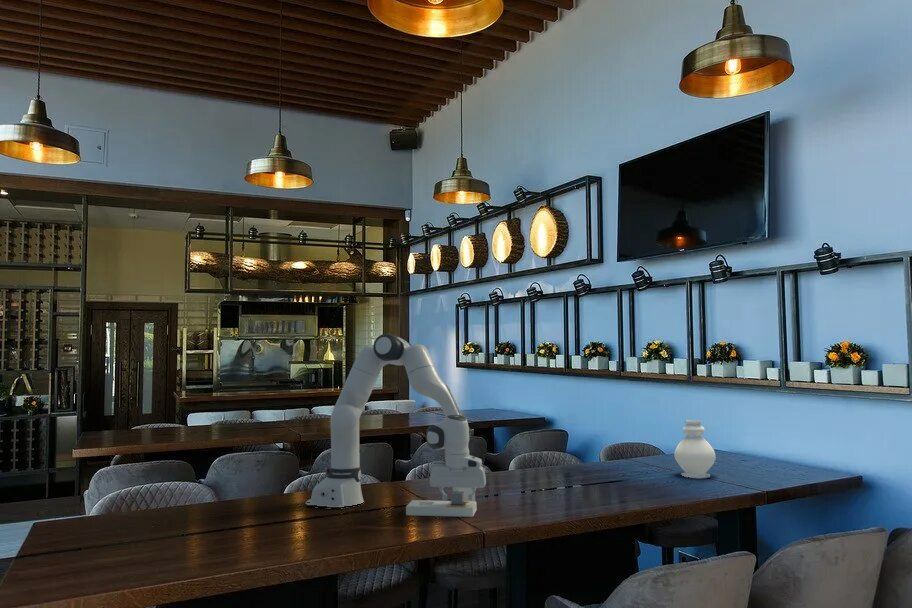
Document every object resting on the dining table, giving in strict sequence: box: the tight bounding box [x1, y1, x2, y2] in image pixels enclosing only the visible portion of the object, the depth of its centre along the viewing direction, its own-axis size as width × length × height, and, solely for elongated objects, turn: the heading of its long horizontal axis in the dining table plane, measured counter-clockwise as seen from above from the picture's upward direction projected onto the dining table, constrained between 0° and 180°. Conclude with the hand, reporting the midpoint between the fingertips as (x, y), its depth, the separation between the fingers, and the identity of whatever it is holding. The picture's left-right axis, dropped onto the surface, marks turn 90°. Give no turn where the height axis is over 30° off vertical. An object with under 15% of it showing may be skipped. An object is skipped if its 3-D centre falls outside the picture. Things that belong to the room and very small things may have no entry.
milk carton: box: [452, 487, 476, 501], centre depth 258 cm, size 7×7×19 cm
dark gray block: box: [450, 490, 464, 506], centre depth 237 cm, size 4×4×7 cm
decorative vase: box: [673, 419, 717, 479], centre depth 304 cm, size 18×18×25 cm
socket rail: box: [405, 499, 478, 518], centre depth 238 cm, size 24×10×4 cm, turn 81°
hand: (457, 499), depth 238 cm, fingers open, 8 cm apart
